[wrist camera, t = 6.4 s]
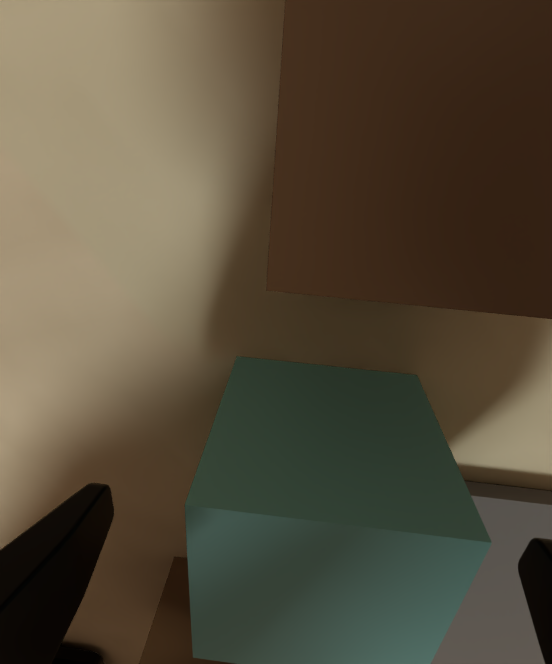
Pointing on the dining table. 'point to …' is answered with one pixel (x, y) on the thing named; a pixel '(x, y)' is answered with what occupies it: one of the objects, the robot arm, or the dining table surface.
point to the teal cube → (327, 521)
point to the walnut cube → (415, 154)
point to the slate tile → (499, 582)
